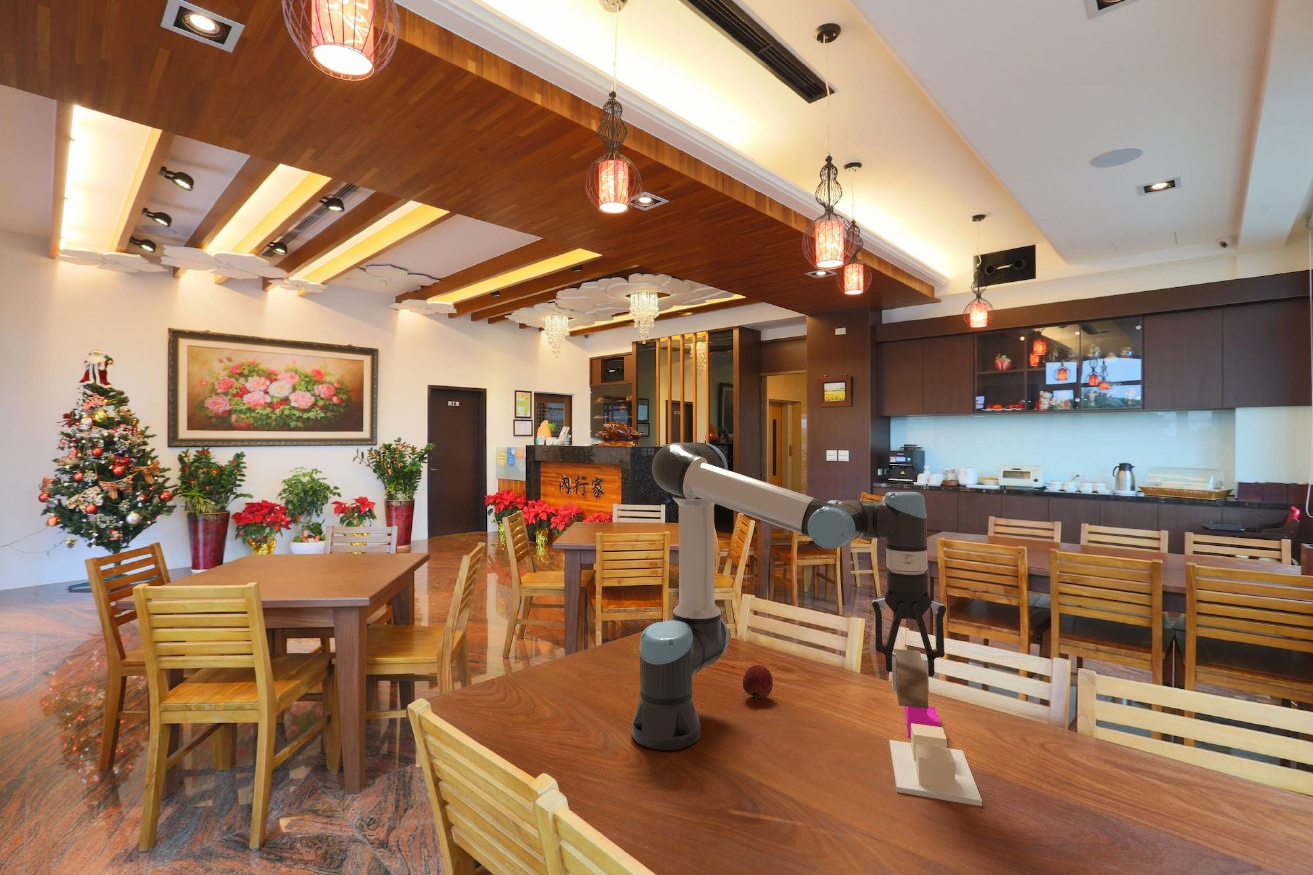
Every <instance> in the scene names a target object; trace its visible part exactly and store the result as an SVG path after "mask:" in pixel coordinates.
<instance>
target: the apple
mask: <svg viewBox="0 0 1313 875" xmlns="http://www.w3.org/2000/svg"><path fill="white" fill-rule="evenodd" d="M773 681H774V680H773V676H772V673H771V672H770V670H769V669H768V668H767V666H764V665H763V664H762V665H761V664H756V665H755V664H754V665H752V666H750V667H749V668H748V669H747V670H746V671H745V673H744V675H743V678H742V689H743V690H744V691H745V693H746V694H748V695H750V696H751V698H752V699H754V698H758V699H764V698H767V697H768V696H770V694H771V692H772V690H773V684H774V683H773Z"/></svg>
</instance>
